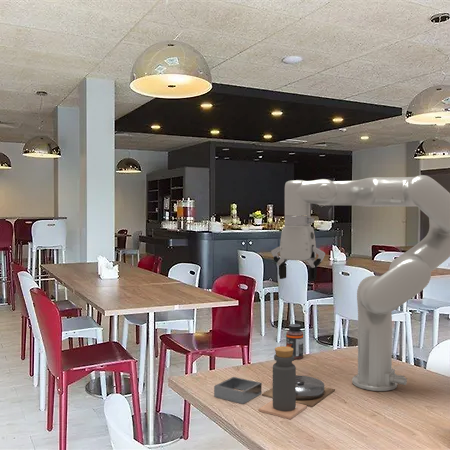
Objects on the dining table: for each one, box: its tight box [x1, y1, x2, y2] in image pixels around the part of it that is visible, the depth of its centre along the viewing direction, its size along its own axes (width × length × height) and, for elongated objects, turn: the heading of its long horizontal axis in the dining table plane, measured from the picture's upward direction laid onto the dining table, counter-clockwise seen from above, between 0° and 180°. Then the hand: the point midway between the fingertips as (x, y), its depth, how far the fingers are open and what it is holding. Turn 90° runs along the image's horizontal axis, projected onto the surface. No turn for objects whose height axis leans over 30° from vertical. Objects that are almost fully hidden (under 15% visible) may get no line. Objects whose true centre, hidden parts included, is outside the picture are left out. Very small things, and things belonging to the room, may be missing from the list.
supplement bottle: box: [285, 323, 304, 360], centre depth 175 cm, size 6×6×11 cm
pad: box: [258, 399, 308, 420], centre depth 129 cm, size 9×9×1 cm
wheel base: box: [261, 386, 336, 408], centre depth 140 cm, size 15×15×1 cm
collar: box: [213, 376, 263, 405], centre depth 139 cm, size 9×9×3 cm
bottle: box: [272, 345, 297, 411], centre depth 128 cm, size 6×6×15 cm
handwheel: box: [296, 374, 325, 400], centre depth 140 cm, size 14×14×8 cm
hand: (297, 279), depth 150 cm, fingers open, 9 cm apart
